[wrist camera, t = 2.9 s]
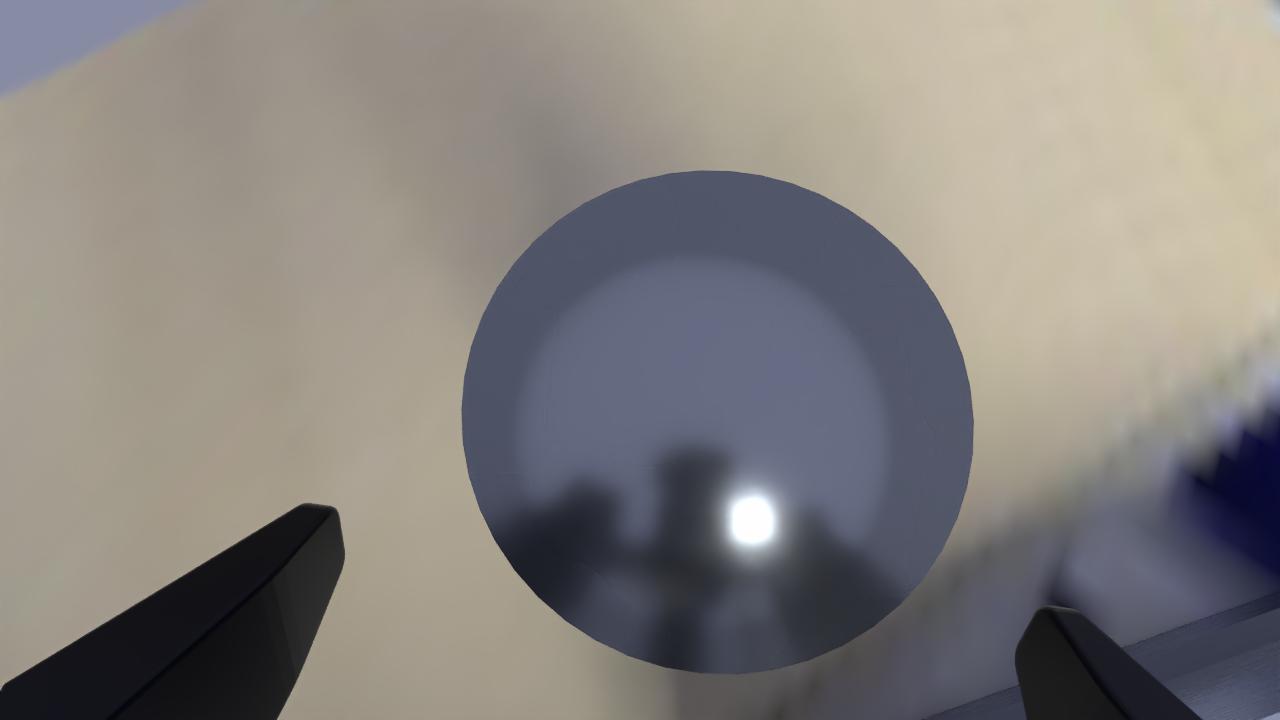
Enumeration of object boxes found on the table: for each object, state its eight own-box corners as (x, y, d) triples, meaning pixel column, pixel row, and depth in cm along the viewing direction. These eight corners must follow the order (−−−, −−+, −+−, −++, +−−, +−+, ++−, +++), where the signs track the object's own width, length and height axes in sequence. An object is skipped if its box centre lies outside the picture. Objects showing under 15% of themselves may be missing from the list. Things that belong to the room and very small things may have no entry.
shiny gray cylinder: (606, 618, 17) (538, 754, 5) (556, 442, 18) (411, 245, 7) (780, 560, 17) (1062, 572, 6) (720, 391, 18) (857, 118, 7)
